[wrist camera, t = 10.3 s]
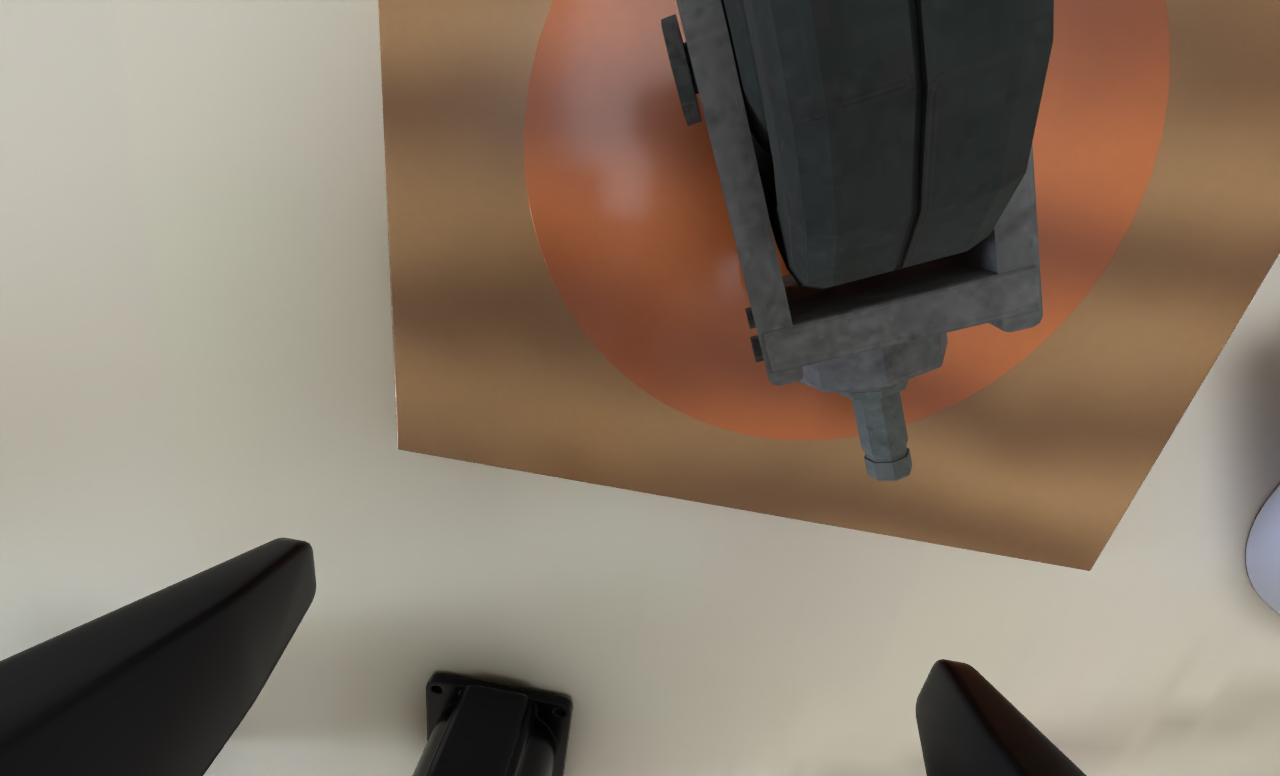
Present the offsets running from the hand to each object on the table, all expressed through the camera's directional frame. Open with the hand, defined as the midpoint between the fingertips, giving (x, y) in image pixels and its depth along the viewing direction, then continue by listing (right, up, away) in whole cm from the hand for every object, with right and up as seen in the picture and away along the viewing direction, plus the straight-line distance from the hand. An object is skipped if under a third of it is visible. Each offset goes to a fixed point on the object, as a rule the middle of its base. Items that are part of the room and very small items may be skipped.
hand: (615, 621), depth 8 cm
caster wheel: (+5, +9, +7) cm, 13 cm away
